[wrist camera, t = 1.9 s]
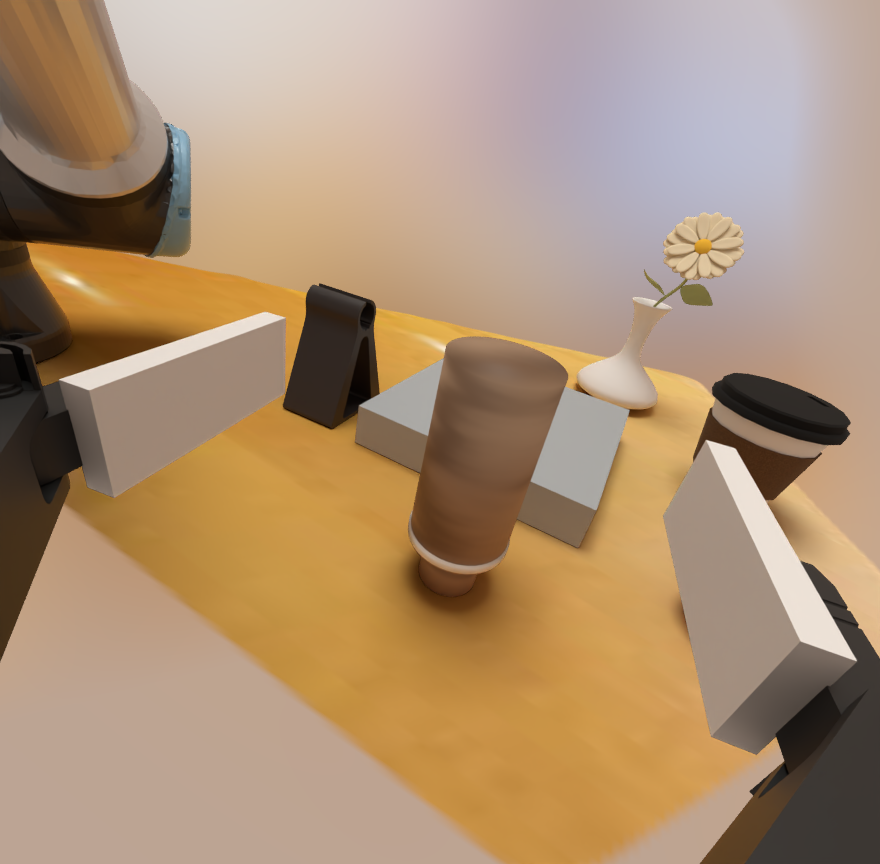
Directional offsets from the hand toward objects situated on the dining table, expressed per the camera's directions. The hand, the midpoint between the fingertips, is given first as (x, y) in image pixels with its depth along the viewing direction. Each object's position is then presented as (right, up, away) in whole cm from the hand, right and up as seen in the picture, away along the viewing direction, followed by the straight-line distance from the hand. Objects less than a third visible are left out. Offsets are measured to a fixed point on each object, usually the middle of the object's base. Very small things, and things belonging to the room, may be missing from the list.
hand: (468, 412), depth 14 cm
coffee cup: (+28, -8, +32) cm, 43 cm away
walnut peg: (0, -10, +17) cm, 20 cm away
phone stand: (-12, +2, +34) cm, 37 cm away
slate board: (+6, -2, +34) cm, 35 cm away
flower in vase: (+24, +4, +50) cm, 56 cm away
